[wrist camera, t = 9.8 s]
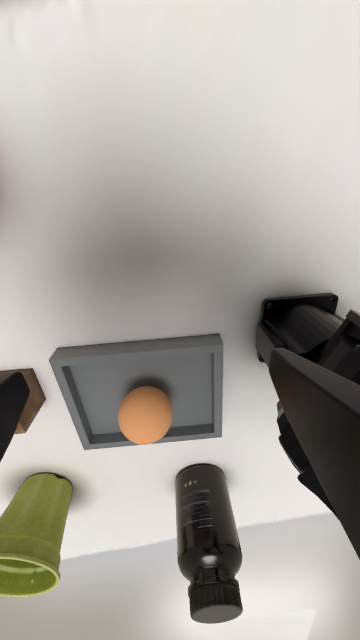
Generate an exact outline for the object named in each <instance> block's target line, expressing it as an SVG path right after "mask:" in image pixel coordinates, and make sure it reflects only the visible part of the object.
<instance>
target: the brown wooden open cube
mask: <svg viewBox="0 0 360 640" xmlns="http://www.w3.org/2000/svg"><path fill="white" fill-rule="evenodd" d="M13 371H20V372H21V373H22V374H23V376H24V378H25V380H26V382H27V384H28V386H29V389H30V394H29V397H28V400H27V402H26V405H25V408H24V410H23V413H22V415H21V418H20V421H19V423H18V426H17V428H16V431H15V433H14V434H20V433H26V431H27V430H28V428H29V426H30V425H31V423H32V421H33V420H34V418H35V416H36V415H37V413H38V411H39V410H40V408H41V407H42V405H43V403H44V402H45V400H46V398H45V396H44V394H43V391H42V389H41V387H40V385H39V382H38V380H37V378H36V376H35V373H34V371H33V369H20V370H9V371H0V376H1V375H2V374H4V373H6V372H13Z"/></svg>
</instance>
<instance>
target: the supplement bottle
mask: <svg viewBox="0 0 360 640" xmlns="http://www.w3.org/2000/svg"><path fill="white" fill-rule="evenodd" d="M175 491H176V523H177V550H178V551H177V554H178V565H179V568H180V571H181V573H182V574H183V576H184V577H185V578H187V580H189V581H190V583H191V584H190V586H189V587H188V596H189V598H190V614H191V618H192V619H193V620H194V621H197V622H200V623H209V624H211V623H221V622H226V621H230V620H233V619H235V618H237V617H238V616H239V615H241V613H242V610H243V609H242V603H241V597H240V592H239V590H240V589H239V584H238V581H237V580H236V579H235V577H234V576H235V575H236V574H237V573H238V571H239V569H240V567H241V563H242V553H241V547H240V543H239V538H238V533H237V529H236V524H235V520H234V515H233V510H232V506H231V501H230V497H229V492H228V487H227V483H226V479H225V476H224V474H223V473H222V471H221V470H219V469H218V468H216V467H214V466H212V465H206V464H199V465H194V466H190V467H188V468H186V469H184V470H183V471H182V472H181V473H180V474H179V475H178V477H177V479H176V483H175Z"/></svg>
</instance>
